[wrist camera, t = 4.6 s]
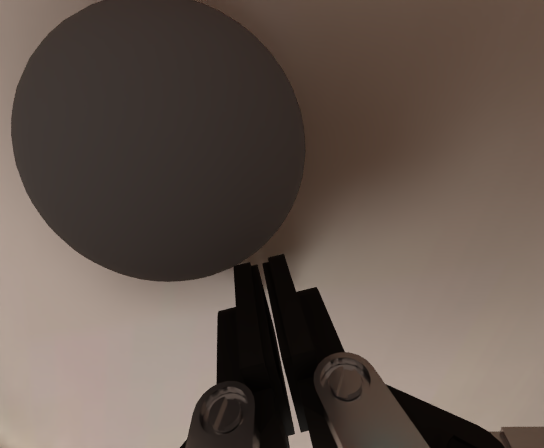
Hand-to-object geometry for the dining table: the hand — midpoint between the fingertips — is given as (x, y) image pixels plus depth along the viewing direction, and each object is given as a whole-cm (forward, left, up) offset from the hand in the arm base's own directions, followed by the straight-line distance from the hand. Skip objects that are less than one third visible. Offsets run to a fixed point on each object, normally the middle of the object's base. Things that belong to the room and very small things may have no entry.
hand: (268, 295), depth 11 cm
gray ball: (0, -6, +1) cm, 6 cm away
